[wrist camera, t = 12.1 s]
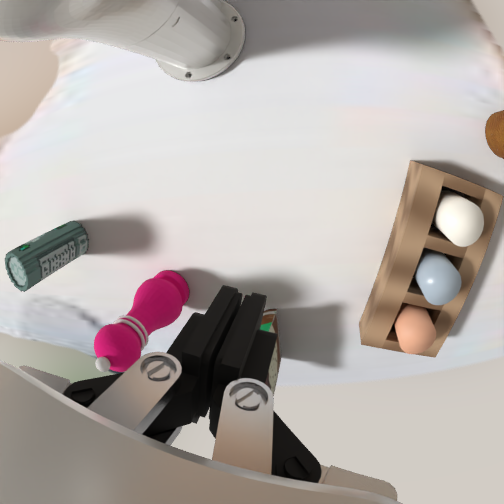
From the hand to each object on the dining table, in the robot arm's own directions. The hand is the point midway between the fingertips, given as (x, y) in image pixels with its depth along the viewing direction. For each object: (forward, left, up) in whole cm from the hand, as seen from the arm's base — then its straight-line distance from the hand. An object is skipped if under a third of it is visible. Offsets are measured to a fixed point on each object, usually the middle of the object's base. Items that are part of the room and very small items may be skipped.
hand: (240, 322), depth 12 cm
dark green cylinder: (+15, -36, -29) cm, 49 cm away
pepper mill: (+19, -16, -29) cm, 38 cm away
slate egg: (+5, +19, -27) cm, 34 cm away
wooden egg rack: (+5, +19, -29) cm, 35 cm away
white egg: (-2, +19, -27) cm, 33 cm away
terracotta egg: (+13, +19, -27) cm, 36 cm away
